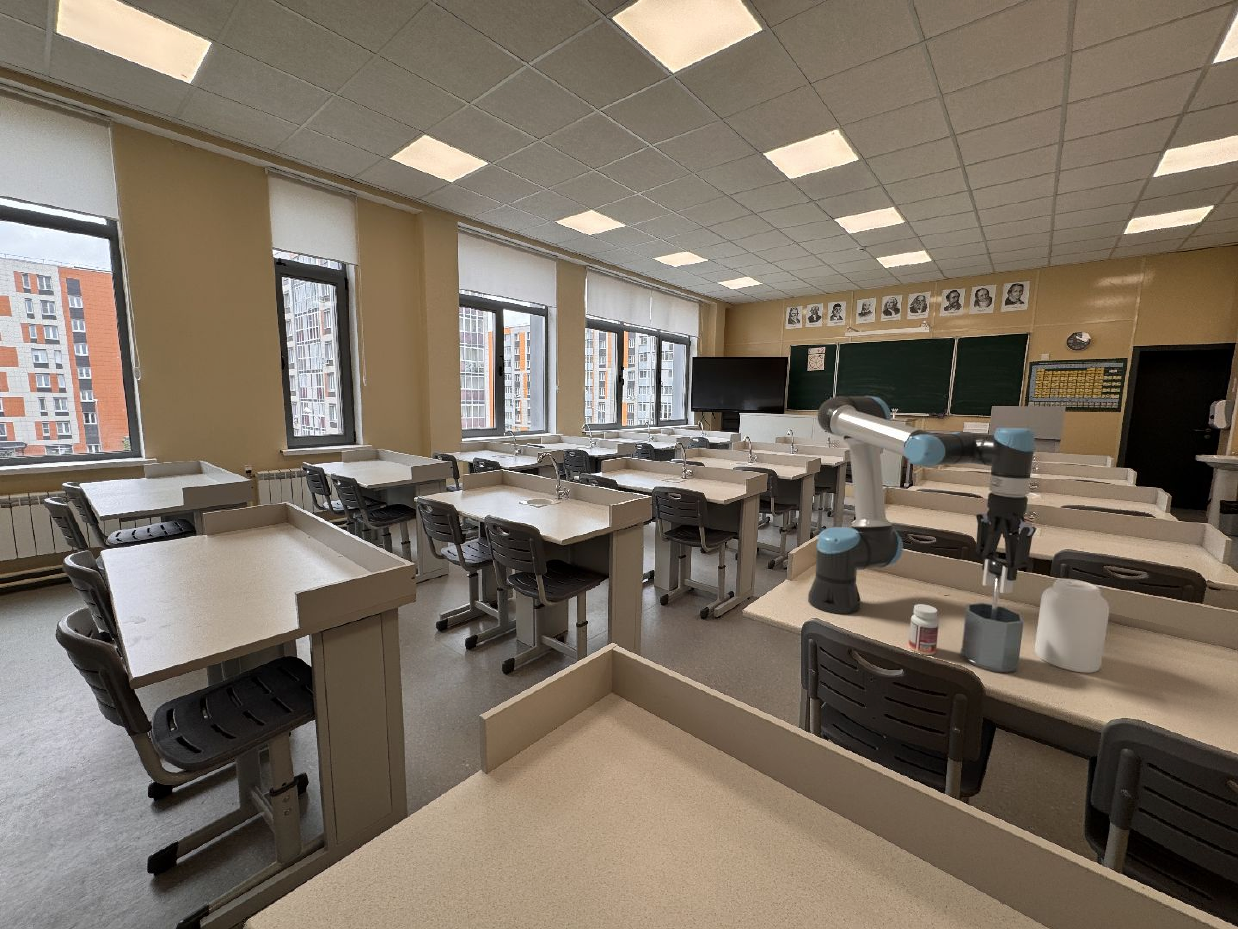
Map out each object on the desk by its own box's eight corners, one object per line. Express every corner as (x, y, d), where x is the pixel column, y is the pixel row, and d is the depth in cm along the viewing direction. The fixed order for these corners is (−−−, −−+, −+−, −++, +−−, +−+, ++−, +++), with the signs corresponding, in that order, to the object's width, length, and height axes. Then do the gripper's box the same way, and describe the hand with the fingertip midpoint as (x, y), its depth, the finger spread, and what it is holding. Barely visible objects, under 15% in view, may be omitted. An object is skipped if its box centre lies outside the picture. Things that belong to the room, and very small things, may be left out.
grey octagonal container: (949, 651, 134) (954, 605, 132) (994, 645, 137) (999, 600, 135) (989, 675, 123) (995, 625, 121) (1038, 669, 126) (1044, 620, 124)
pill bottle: (940, 651, 134) (944, 609, 132) (928, 658, 130) (932, 615, 129) (916, 641, 139) (919, 601, 137) (903, 648, 135) (907, 606, 134)
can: (1031, 661, 129) (1041, 584, 126) (1036, 642, 138) (1046, 570, 135) (1099, 680, 121) (1112, 598, 118) (1100, 659, 130) (1112, 583, 127)
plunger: (960, 643, 132) (970, 556, 129) (988, 640, 134) (998, 554, 130) (990, 660, 124) (1001, 568, 121) (1019, 656, 126) (1031, 565, 122)
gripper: (963, 487, 130) (954, 577, 134) (1030, 502, 114) (1017, 604, 117) (988, 486, 132) (978, 574, 136) (1057, 501, 115) (1044, 601, 119)
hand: (996, 588), depth 126 cm, fingers closed on plunger, 4 cm apart
